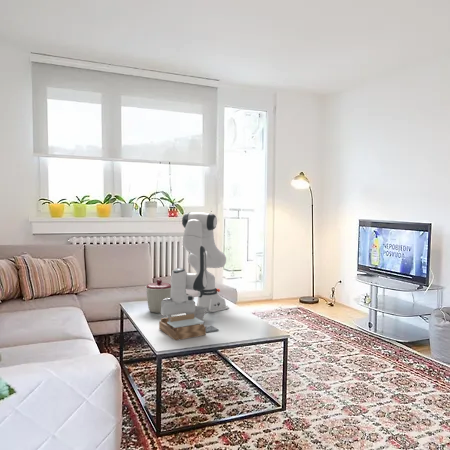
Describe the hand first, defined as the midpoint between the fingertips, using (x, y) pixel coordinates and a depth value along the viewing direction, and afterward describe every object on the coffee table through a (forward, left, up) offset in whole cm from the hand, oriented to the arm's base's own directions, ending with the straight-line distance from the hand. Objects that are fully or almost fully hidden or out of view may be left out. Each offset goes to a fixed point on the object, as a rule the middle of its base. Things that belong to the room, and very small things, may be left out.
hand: (178, 321), depth 250 cm
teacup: (-19, -12, -5) cm, 24 cm away
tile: (-15, +8, -5) cm, 18 cm away
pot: (0, -1, -5) cm, 5 cm away
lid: (0, +9, +1) cm, 9 cm away
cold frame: (0, +5, -5) cm, 7 cm away
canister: (-6, -42, -5) cm, 43 cm away
